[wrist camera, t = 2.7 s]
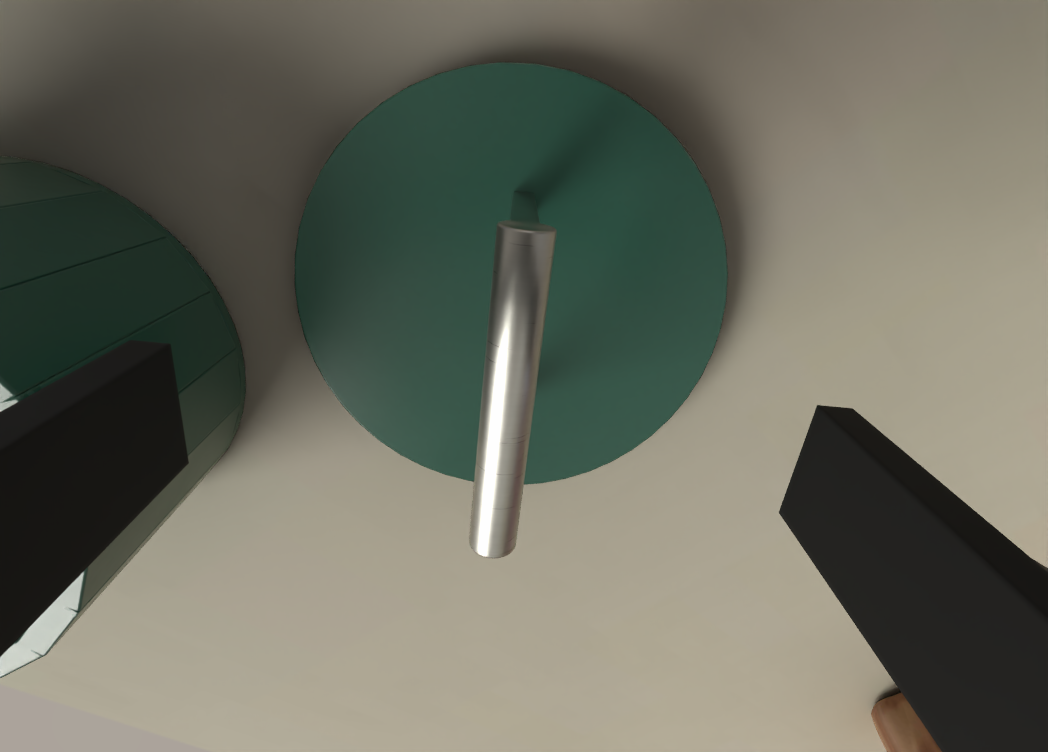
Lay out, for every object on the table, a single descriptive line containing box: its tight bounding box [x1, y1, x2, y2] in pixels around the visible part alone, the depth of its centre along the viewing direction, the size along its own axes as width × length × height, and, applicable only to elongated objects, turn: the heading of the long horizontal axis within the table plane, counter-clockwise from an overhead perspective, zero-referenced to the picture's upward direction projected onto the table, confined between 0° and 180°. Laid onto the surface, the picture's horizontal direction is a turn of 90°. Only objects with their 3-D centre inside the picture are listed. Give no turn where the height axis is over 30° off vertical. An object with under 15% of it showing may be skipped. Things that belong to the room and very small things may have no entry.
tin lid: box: [295, 62, 728, 558], centre depth 17 cm, size 15×15×9 cm
